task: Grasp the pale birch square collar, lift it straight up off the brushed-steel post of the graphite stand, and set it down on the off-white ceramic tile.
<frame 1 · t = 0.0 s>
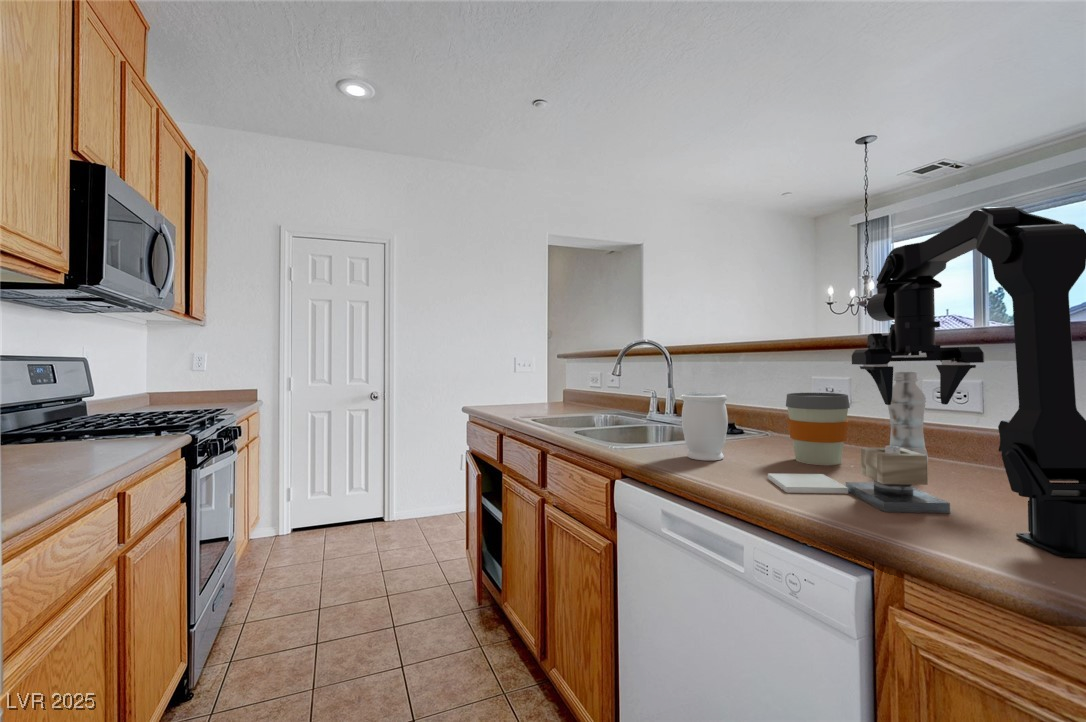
hand: (916, 404, 86), 15 cm above the worktop, fingers open, 9 cm apart
plastic bottle: (907, 470, 99), on the worktop
post stand: (893, 500, 78), on the worktop
reusable coffee cup: (818, 461, 109), on the worktop
tile pad: (805, 485, 88), on the worktop
collar: (893, 479, 78), point 3 cm above the worktop, touching post stand
jar: (705, 458, 115), on the worktop
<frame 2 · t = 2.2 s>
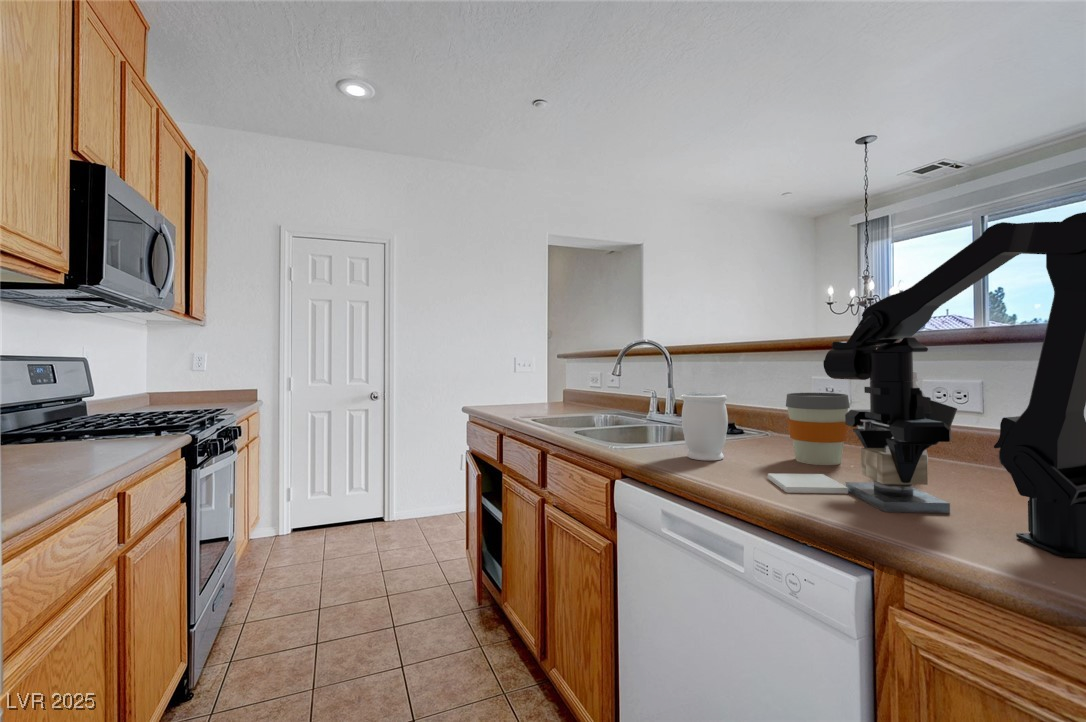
hand: (893, 477, 78), 4 cm above the worktop, fingers closed on collar, 6 cm apart
collar: (893, 479, 78), point 3 cm above the worktop, touching gripper, post stand
everything else where it was.
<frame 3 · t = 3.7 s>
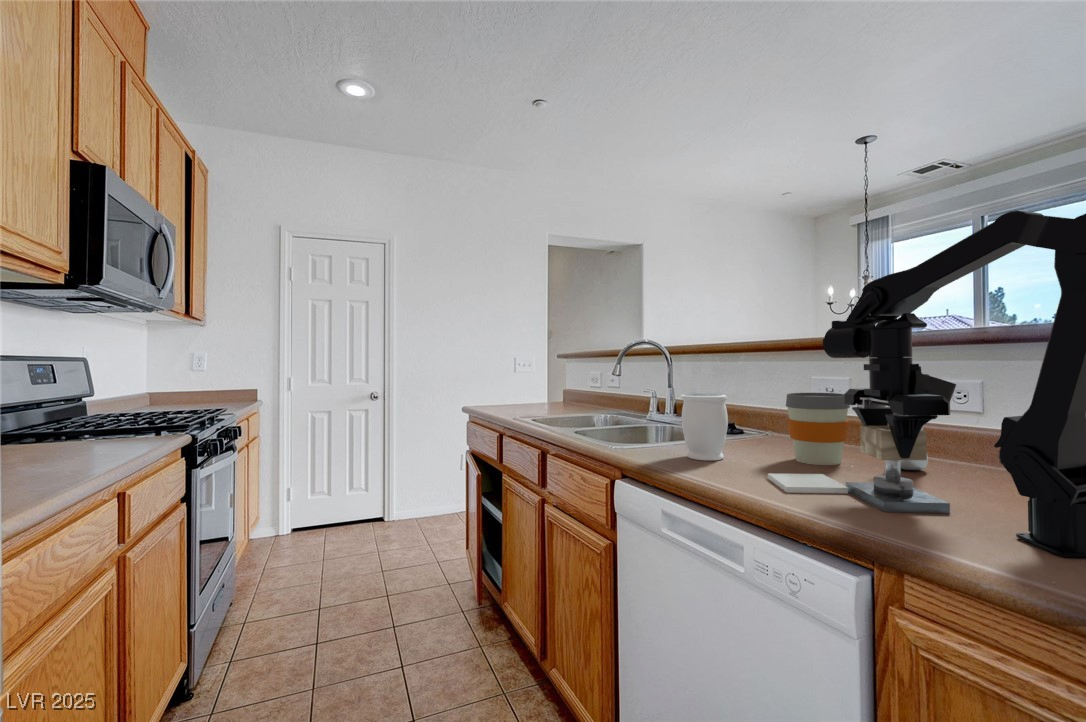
hand: (892, 453, 78), 8 cm above the worktop, fingers closed on collar, 6 cm apart
collar: (892, 456, 78), point 7 cm above the worktop, touching gripper
everything else where it was.
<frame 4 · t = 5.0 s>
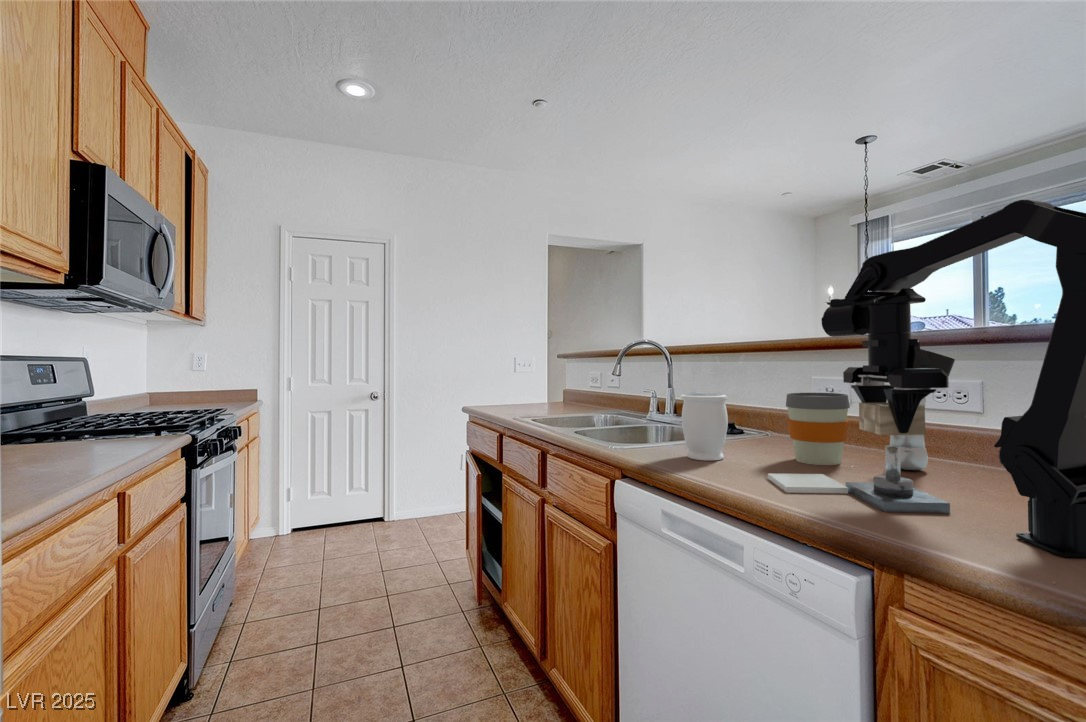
hand: (890, 429, 78), 12 cm above the worktop, fingers closed on collar, 6 cm apart
collar: (890, 431, 78), point 11 cm above the worktop, touching gripper
everything else where it was.
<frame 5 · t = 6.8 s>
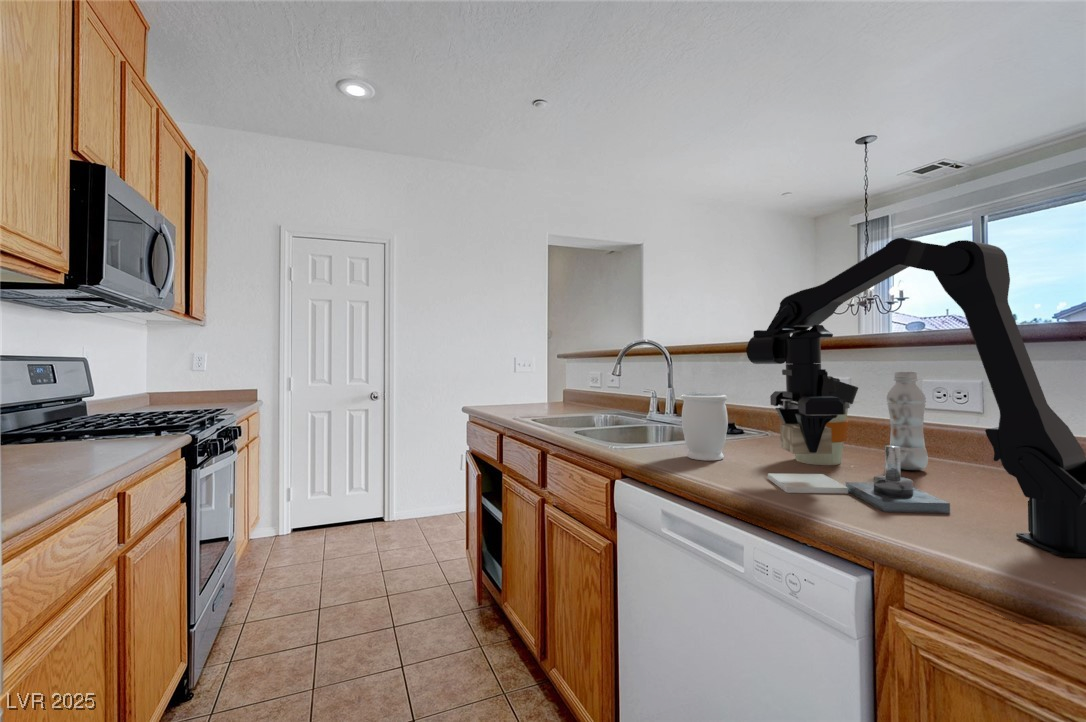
hand: (805, 449, 88), 7 cm above the worktop, fingers closed on collar, 6 cm apart
collar: (805, 450, 88), point 6 cm above the worktop, touching gripper
everything else where it was.
when the fingers open (2 cm above the worktop, at t = 8.1 s): collar stays where it is, resting on tile pad.
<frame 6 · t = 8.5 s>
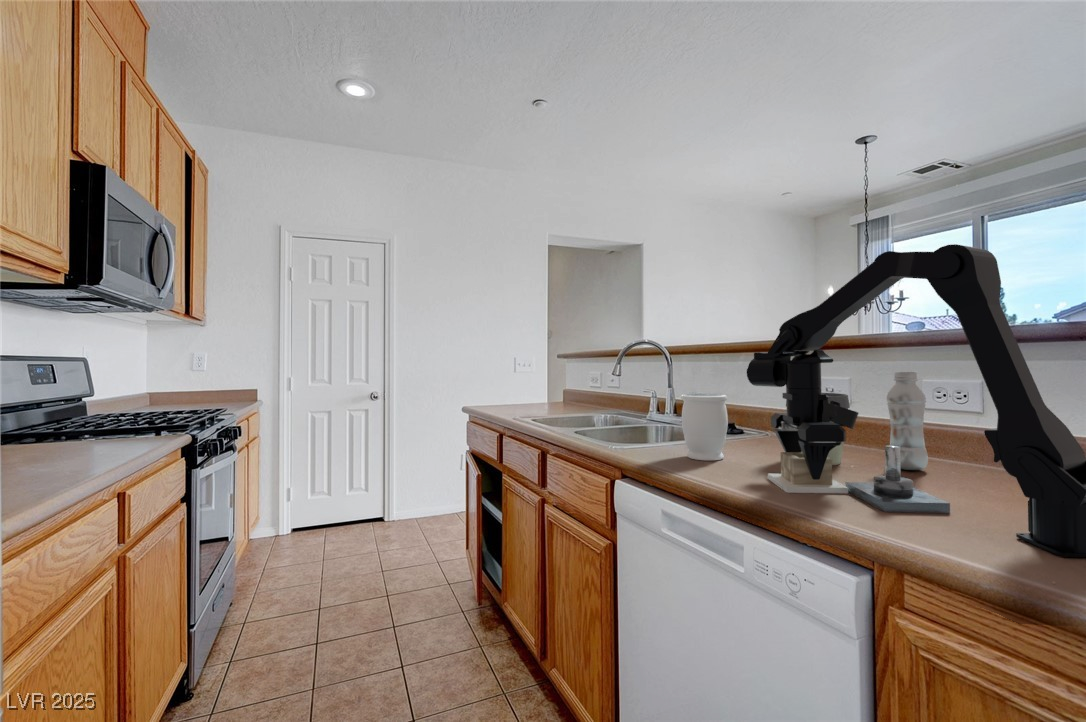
hand: (805, 473, 88), 2 cm above the worktop, fingers open, 9 cm apart
collar: (805, 480, 88), point 1 cm above the worktop, touching tile pad
everything else where it was.
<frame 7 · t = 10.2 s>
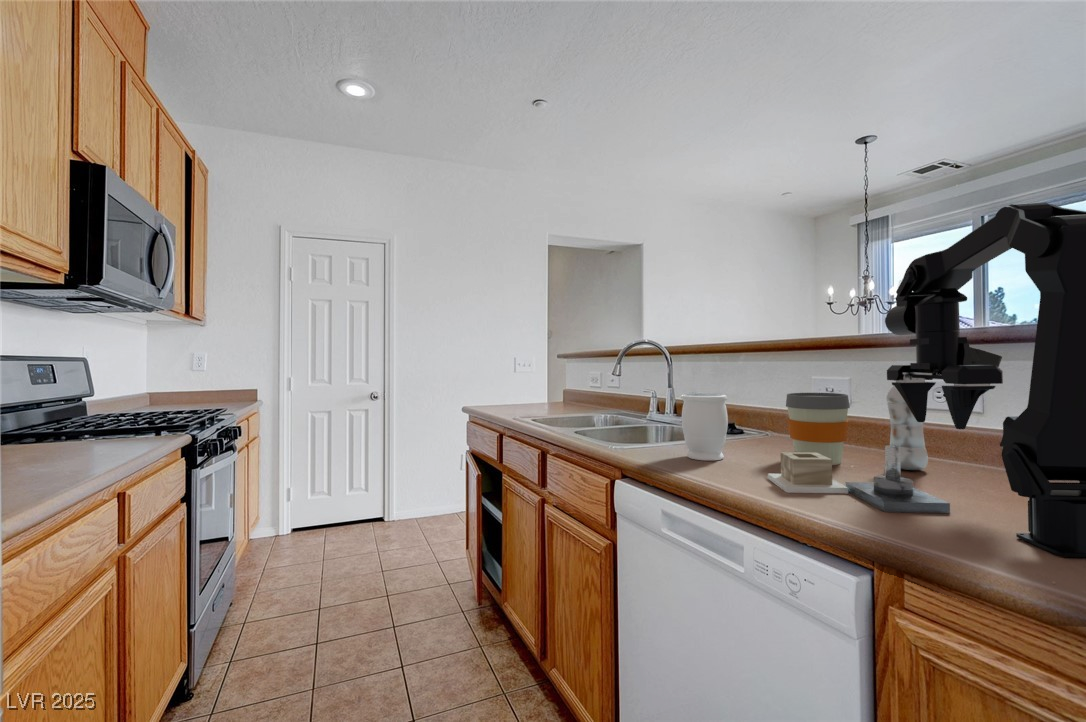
hand: (939, 425, 81), 12 cm above the worktop, fingers open, 9 cm apart
nothing on the worktop moved.
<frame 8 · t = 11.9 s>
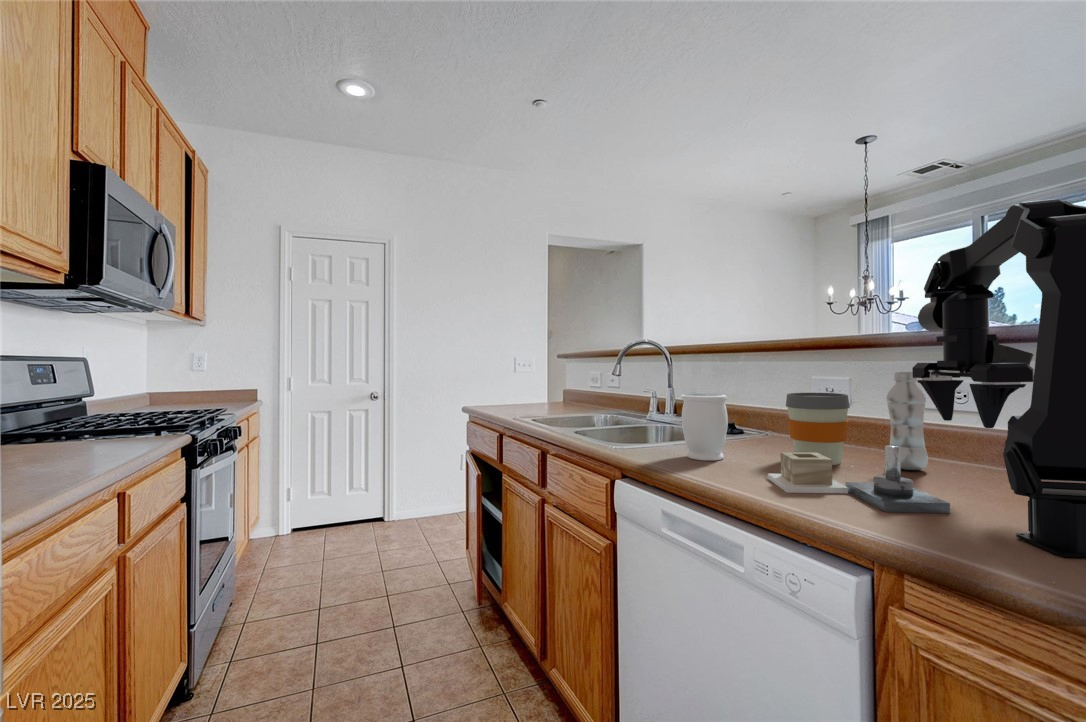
hand: (967, 424, 79), 12 cm above the worktop, fingers open, 9 cm apart
nothing on the worktop moved.
at the end: collar inside the target area on the tile pad (0.1 cm from its centre), point 1.0 cm above the tile pad's base; collar tilted 0°; the gripper is holding nothing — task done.
